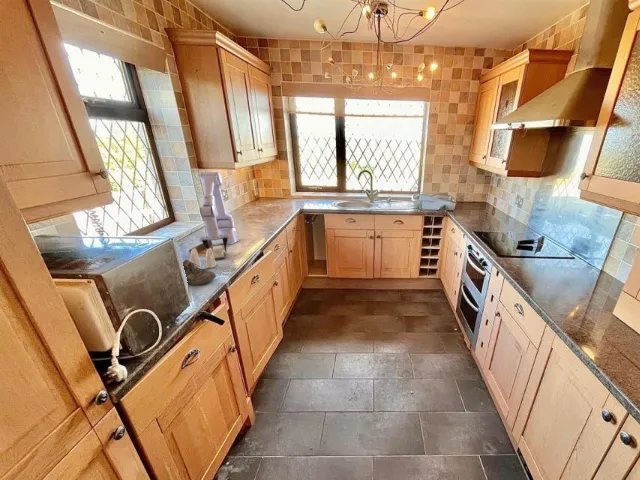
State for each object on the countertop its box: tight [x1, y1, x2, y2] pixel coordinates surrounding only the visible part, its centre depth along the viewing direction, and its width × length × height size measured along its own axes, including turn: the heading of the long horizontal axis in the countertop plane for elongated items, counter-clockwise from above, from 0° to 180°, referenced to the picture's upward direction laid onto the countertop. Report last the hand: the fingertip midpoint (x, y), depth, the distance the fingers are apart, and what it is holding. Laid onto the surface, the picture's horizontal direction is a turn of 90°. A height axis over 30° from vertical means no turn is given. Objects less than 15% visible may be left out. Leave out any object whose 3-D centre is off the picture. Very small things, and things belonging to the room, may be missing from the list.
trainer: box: [213, 246, 225, 261], centre depth 173 cm, size 11×5×5 cm, turn 26°
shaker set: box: [189, 247, 217, 269], centre depth 155 cm, size 12×4×11 cm, turn 125°
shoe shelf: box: [188, 240, 230, 257], centre depth 183 cm, size 20×12×4 cm, turn 176°
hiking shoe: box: [181, 259, 217, 286], centre depth 142 cm, size 9×21×12 cm, turn 89°
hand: (218, 252), depth 173 cm, fingers open, 7 cm apart
